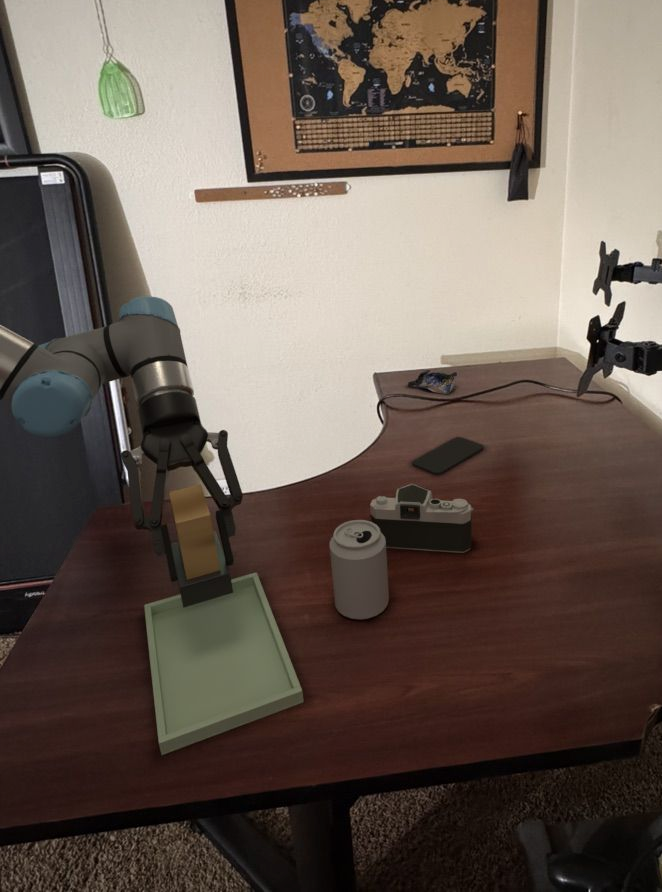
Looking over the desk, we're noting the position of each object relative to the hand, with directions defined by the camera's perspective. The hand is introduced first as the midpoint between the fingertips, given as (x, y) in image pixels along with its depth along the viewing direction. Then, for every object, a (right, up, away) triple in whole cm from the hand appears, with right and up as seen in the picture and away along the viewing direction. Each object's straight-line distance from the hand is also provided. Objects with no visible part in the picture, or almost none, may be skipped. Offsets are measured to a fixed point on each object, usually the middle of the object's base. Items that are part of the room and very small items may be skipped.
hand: (202, 570), depth 76 cm
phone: (+35, +8, +50) cm, 61 cm away
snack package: (+35, +21, +86) cm, 95 cm away
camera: (+28, -2, +24) cm, 38 cm away
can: (+19, -8, +10) cm, 23 cm away
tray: (+1, -12, +3) cm, 12 cm away
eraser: (-1, -2, +4) cm, 5 cm away
